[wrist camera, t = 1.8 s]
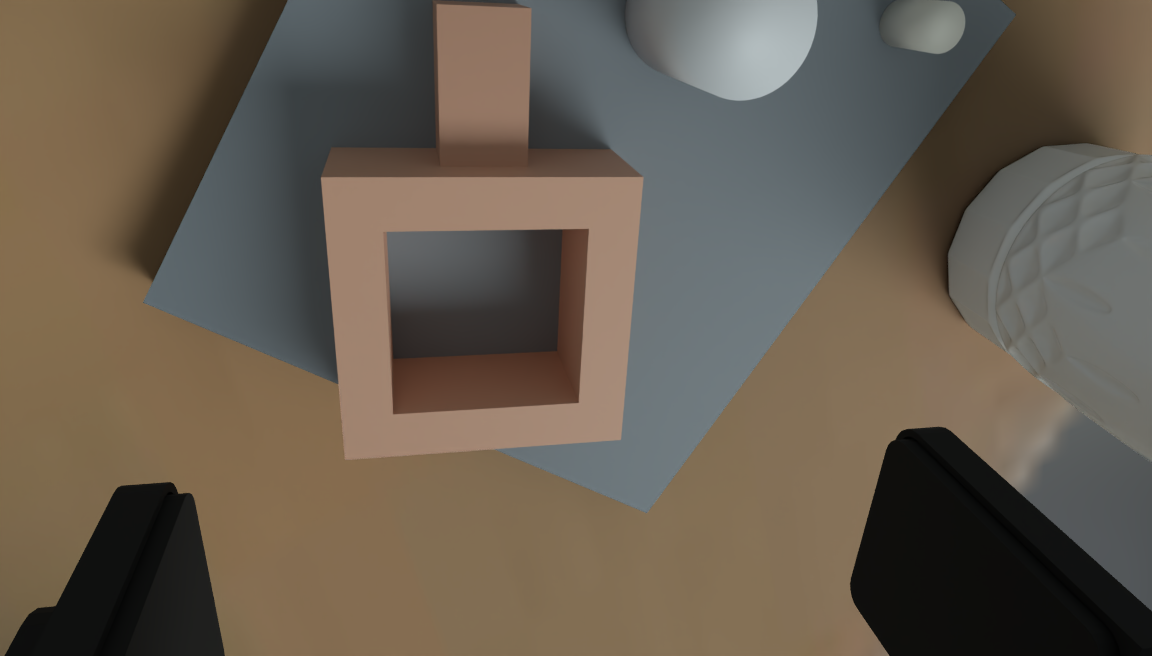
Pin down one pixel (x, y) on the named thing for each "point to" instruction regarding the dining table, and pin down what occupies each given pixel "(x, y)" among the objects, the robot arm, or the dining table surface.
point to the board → (584, 121)
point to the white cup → (1067, 278)
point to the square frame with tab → (481, 202)
